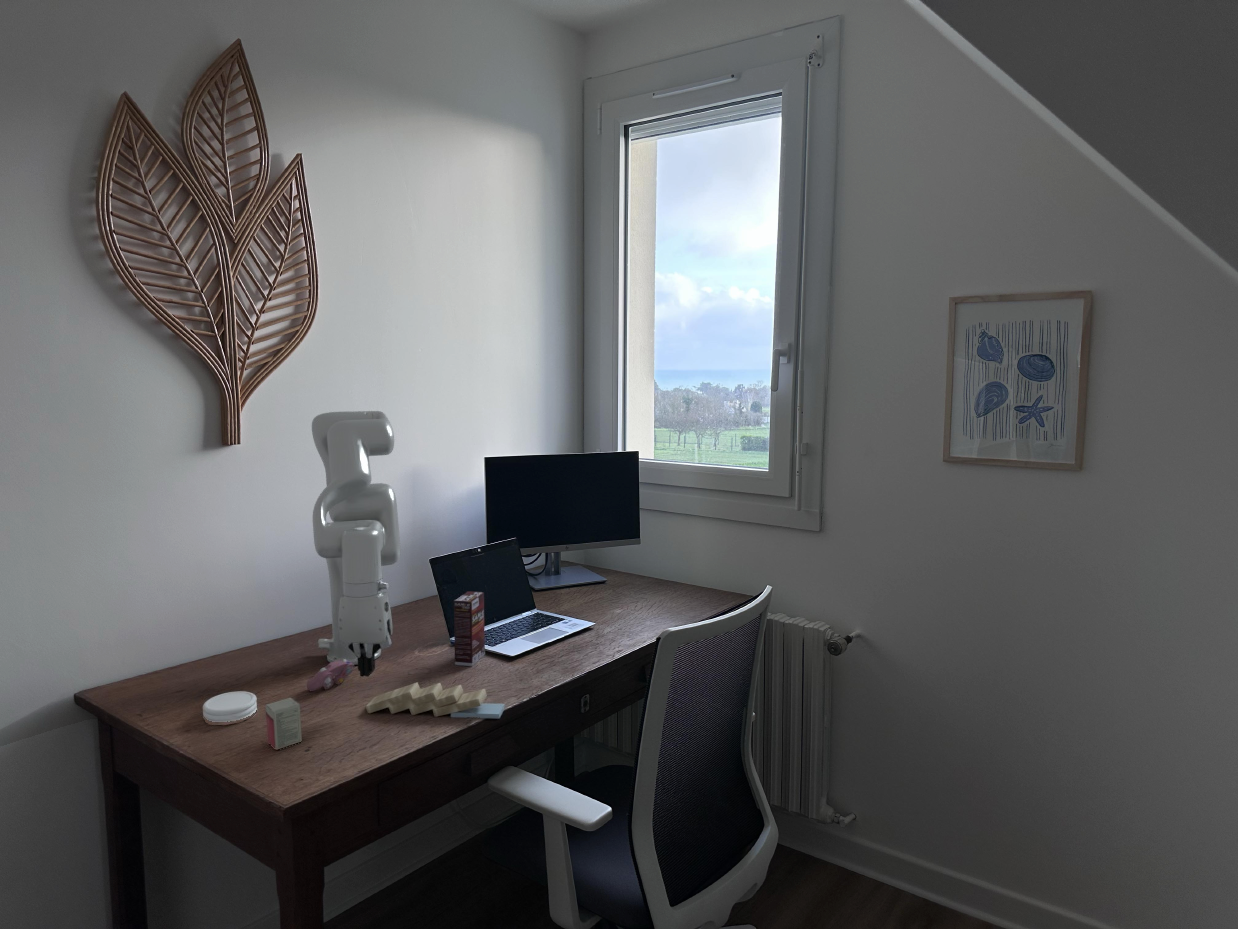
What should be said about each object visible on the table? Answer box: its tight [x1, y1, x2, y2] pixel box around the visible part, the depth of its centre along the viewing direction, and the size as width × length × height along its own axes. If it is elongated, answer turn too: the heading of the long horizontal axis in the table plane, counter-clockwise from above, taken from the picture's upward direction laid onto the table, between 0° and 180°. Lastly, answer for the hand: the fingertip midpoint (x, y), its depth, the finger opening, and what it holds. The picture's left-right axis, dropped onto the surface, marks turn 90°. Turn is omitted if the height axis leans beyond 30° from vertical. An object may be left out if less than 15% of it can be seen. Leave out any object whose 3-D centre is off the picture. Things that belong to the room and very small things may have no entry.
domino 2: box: [388, 682, 444, 715], centre depth 167 cm, size 2×5×10 cm
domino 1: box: [365, 681, 421, 714], centre depth 168 cm, size 2×5×10 cm
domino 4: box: [432, 688, 488, 718], centre depth 166 cm, size 2×5×10 cm
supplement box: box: [453, 591, 486, 667], centre depth 195 cm, size 9×5×16 cm, turn 168°
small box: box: [264, 697, 303, 748], centre depth 153 cm, size 5×4×8 cm
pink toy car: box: [306, 659, 355, 692], centre depth 180 cm, size 10×5×7 cm, turn 150°
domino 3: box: [408, 684, 464, 716], centre depth 167 cm, size 2×5×10 cm
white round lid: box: [202, 690, 258, 722], centre depth 165 cm, size 10×10×4 cm
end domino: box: [450, 702, 506, 719], centre depth 166 cm, size 2×5×10 cm
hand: (366, 673), depth 167 cm, fingers closed
